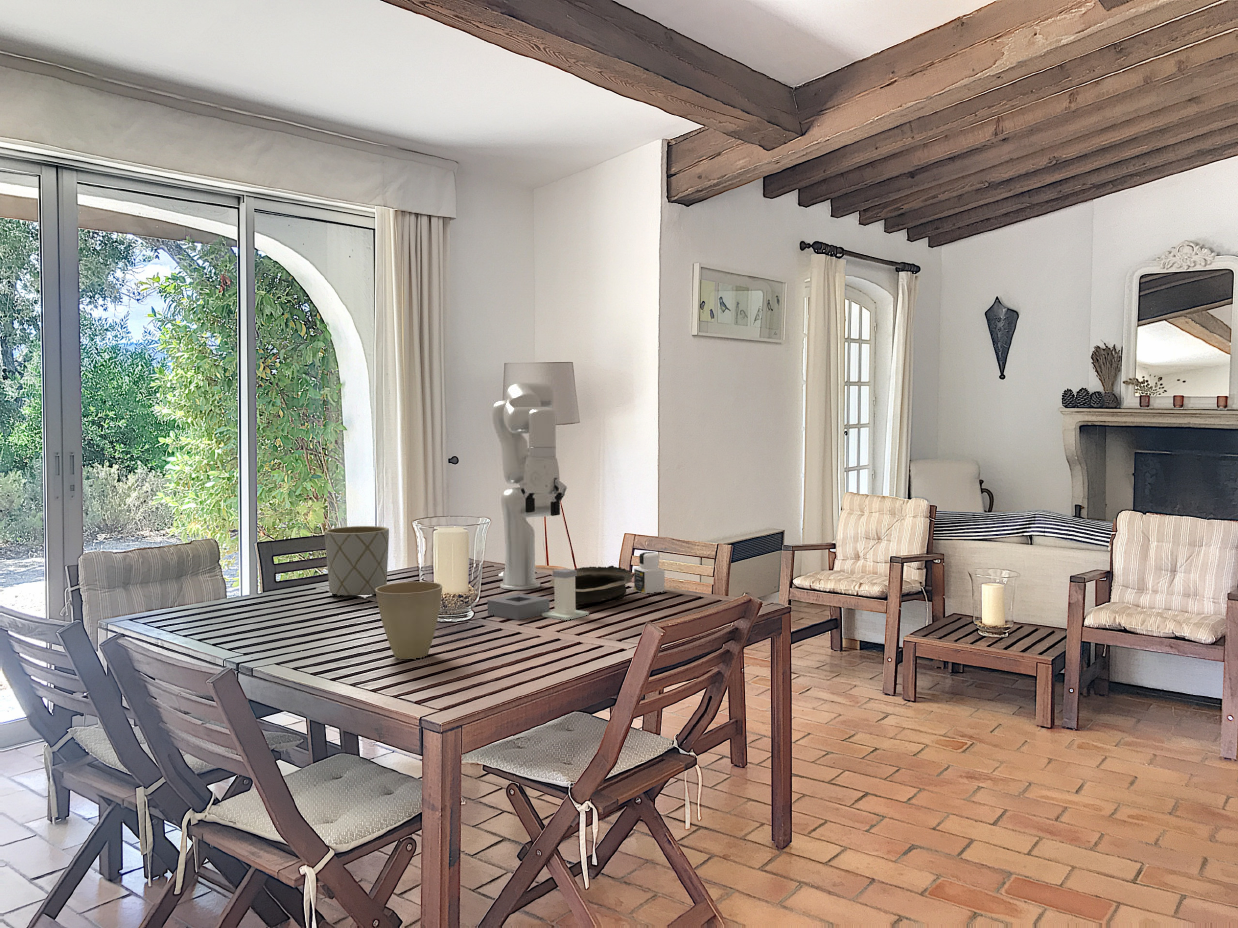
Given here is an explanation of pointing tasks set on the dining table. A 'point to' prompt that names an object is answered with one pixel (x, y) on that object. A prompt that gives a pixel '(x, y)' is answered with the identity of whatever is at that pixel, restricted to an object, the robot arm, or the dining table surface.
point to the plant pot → (409, 616)
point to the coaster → (565, 617)
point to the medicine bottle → (649, 574)
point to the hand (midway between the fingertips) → (542, 513)
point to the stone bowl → (600, 584)
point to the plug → (564, 590)
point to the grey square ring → (518, 606)
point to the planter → (356, 559)
